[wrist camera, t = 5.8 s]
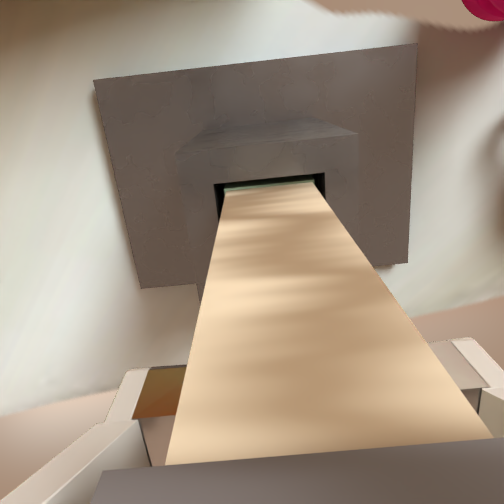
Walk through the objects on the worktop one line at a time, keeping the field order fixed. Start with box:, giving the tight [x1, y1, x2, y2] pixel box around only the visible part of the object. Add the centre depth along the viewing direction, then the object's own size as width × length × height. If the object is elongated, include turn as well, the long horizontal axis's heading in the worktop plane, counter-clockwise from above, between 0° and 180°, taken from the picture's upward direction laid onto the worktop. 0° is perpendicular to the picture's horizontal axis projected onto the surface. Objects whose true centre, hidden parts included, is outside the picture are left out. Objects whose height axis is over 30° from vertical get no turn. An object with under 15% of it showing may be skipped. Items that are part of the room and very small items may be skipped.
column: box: [90, 174, 504, 504], centre depth 14 cm, size 5×5×21 cm
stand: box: [93, 43, 418, 306], centre depth 25 cm, size 22×16×14 cm
